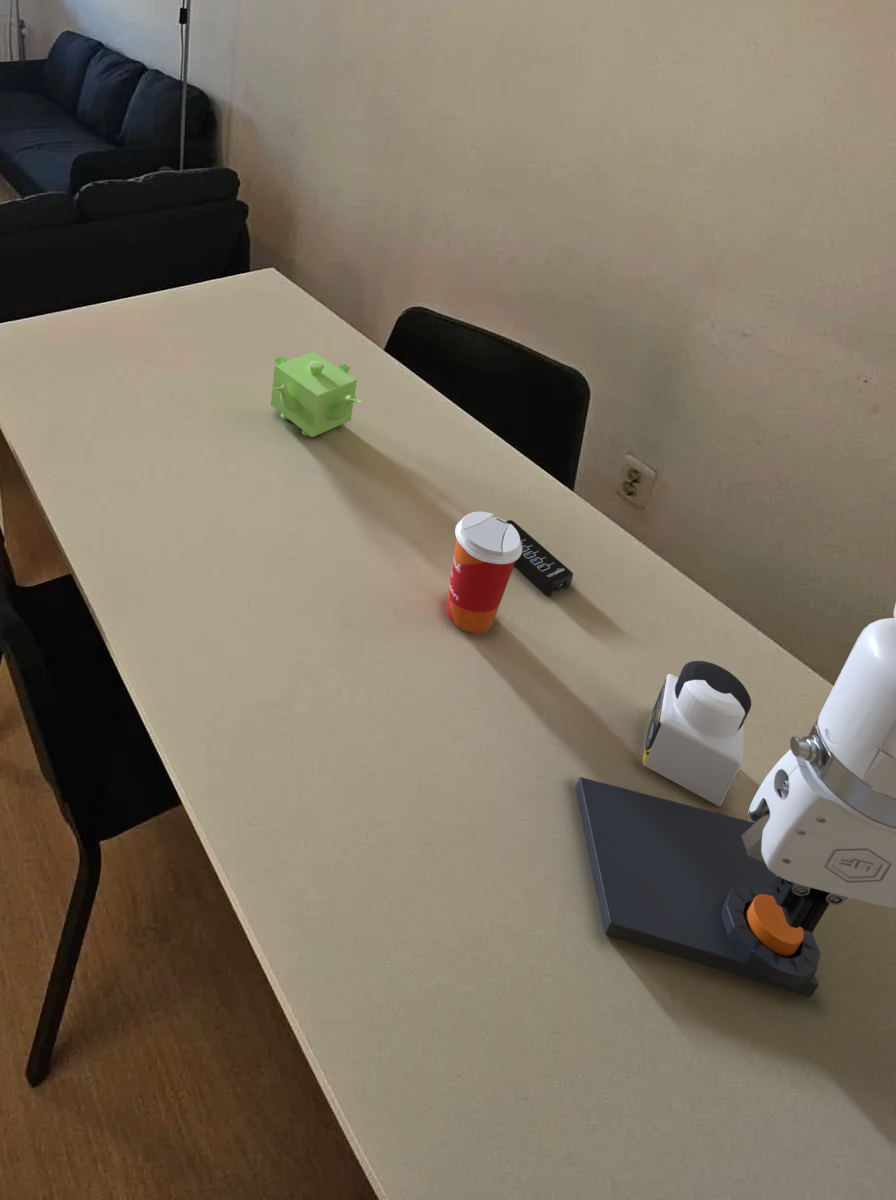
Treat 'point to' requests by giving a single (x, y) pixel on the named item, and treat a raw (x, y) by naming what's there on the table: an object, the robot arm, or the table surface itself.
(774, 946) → the button
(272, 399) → the kettle
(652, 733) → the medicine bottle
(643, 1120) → the table surface
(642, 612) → the table surface
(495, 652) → the table surface
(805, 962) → the scale
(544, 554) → the multiport hub
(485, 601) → the paper cup
